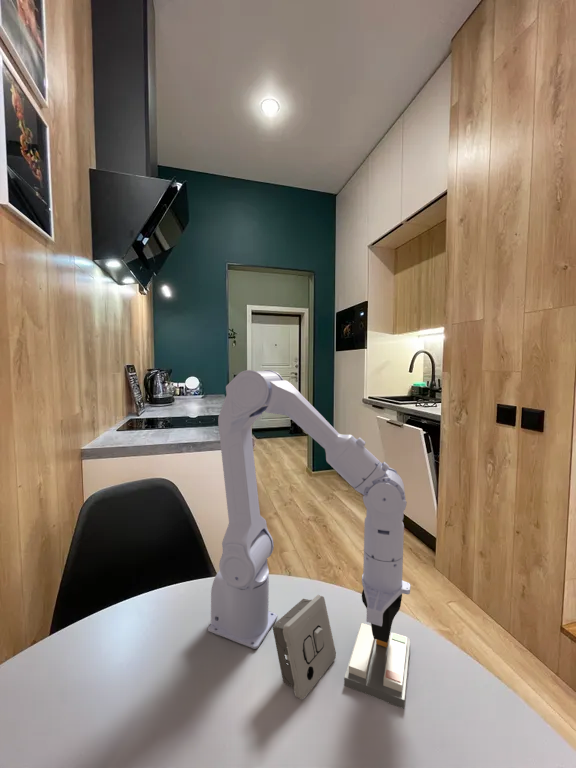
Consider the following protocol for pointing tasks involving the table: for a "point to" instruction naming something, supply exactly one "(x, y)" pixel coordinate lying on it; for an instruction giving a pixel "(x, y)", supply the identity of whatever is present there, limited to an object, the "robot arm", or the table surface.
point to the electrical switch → (304, 644)
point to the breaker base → (379, 666)
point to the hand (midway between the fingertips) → (380, 638)
